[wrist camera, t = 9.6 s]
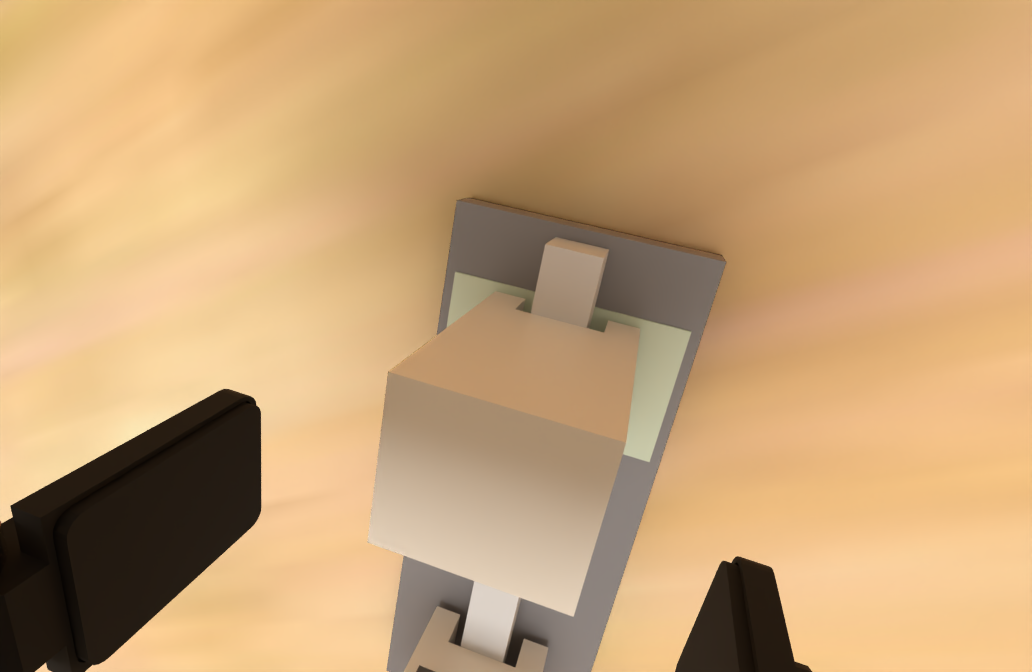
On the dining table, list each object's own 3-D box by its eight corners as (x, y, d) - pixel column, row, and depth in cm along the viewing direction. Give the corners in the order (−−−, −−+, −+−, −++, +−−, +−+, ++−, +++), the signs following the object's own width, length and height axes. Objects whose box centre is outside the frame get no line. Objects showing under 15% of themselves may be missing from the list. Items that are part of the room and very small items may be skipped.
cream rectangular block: (495, 291, 21) (388, 371, 12) (640, 328, 20) (626, 442, 12) (471, 418, 23) (365, 560, 14) (603, 458, 22) (568, 635, 13)
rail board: (469, 198, 22) (310, 223, 12) (721, 255, 20) (780, 341, 10) (399, 647, 30) (272, 880, 20) (571, 715, 29) (524, 1006, 19)
